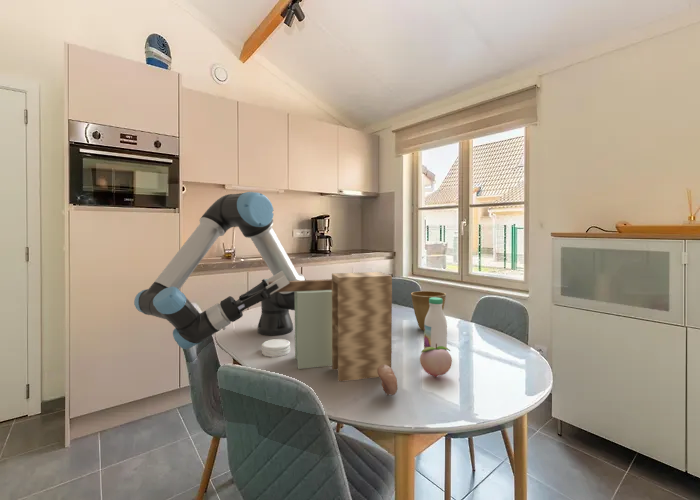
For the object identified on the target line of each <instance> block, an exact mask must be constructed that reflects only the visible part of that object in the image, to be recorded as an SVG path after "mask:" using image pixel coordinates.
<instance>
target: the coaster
mask: <svg viewBox="0 0 700 500" xmlns="http://www.w3.org/2000/svg"><path fill="white" fill-rule="evenodd" d="M289 353H291V342H290V340H288V339H284V338H274V339H268V340H266V341H263V343H262V344H261V354H262V355H263V356H265V357H269V358H270V357H272V358H274V357H276V358H278V357H283V356H285V355H288V354H289Z"/></svg>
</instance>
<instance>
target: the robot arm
mask: <svg viewBox="0 0 700 500" xmlns="http://www.w3.org/2000/svg"><path fill="white" fill-rule="evenodd" d="M273 212H274V207H273V204H272V202H271V200H270V199H269V197H267V196H266V195H265V194H263V193H260V192H257V191H256V192H255V191H247V192H241V193H230V194H225V195H223V196H221V197H219V198H218V199H217V200H215V201H214V202H213V203H212V204H211V205H210V206H209V207H208V208H207V210H205V212H204V213H203V214H202V216H201V217H200V218H199V224H198V225H197V227H196V228H195V230H194V231H193V232H192V233H191V235H190V236H189V237H188V239H187V240H186V241H185V242H184V243H183V245H182V246H181V247H180V248H179V250H178V251H177V252H176V253H175V255H174V256H173V257H172V259H170V261H169V263H168V264H167V265H166V266H165V268H163V270H162V272H161V273H160V274H159V275H158V277H157V278H156V279H155V280H154V282H152V284H151V285H150V287H149V288H147V289H143V290H141V291H139V292H138V293H137V294H136V296H135V297H134V302H133V303H134V307H135V309H136V310H137V311H139V312H141V313H142V314H144V315H148V316H152V317H156V318H159V319H163V320H166V321H168V322H169V323H170V324H171V325H172V326H173V327H174V329H173V330H172V336H173V339H174V341H175V342H176V344H177V345H178V346H179V348H180V349H183V350H189V349H190V348H193V347H195V346H196V345H199V344H200V343H201V342H202V343H203V341H205V340H206V339H208V338H209V337H211V336H213V335H214V334H215V333H218V332H219V331H221V329H222V330H224V331H225V330H226V329H227V328H226V327H228V326H230V325H231V323H234V322H236V321H239V319H241V318H243V313H244V311H245V310H247V309H249V308H251V307H252V306H254V305H257V304H258V303H261V305H260V307H261V309H260V310H261V312H260V313H261V314H260V317H259V320H258V323H257V324H258V325H257V333H258V334H260V335H263V336H264V335H265V336H280V335H281V336H282V335H286V334H289V333H292V332H293V330H294V322H293V320H292V318H291V314H290V310H291V311H294V312H295V293H294V291H289V292H276V291H278V290H279V289H281V288H283V287H284V286H286V285H288V284H289V281H298V280H307V279H306V278H305V276H304V275H303V273H298V271H297V269H296V267H295V266H294V264H293V262H292V260H291V259H290V257H289V255H288V253H287V251H286V249H285V248H284V246H283V244H282V242H281V241H280V238H279V237H278V235H277V233H276V232H275V230H274V228H273V225H274V219H273V218H274V213H273ZM232 228H238V229H239V230H240V232H241V233H242V235H243V236H244V237H245V238H247V239H250V240H251V241H252V243H253V244H254V246H255V247H256V249H257V251H258V253H259V254H260V256H261V258H262V259H263V261H264V262H265V264H266V265H267V266H266V267H268V269H269V271H270V272H271V275H272V276H271V277H269V278H266V279H265V278H263V279H262V280H261V282H259V283H258V284H256V285H255V286H253V287H252V288H251V289H249V290H247V291H246V292H245V293H242V294H241V295H239V296H238V299H237V300H235V298H234V297H233V296H228V297H226V298H224V299H223V300H220V302H219V303H218V302H217V303H216V304H215V303H214V304H213V305H212V306H210V307H208V308H207V309H206V310H204V311H201V312H199V310H198V309H197V308H196V307H195V306H194V305H193V304H192V302H191V301H190V300H189V299H188V298H187V297H186V295H185V293H183V292H182V291H181V288H182V287H183V286H184V284H186V282H187V280H189V277H190V276H191V275H192V274H193V272H194V271H195V269H196V268H197V267H198V266H199V264H200V263H201V261H202V260H203V259H204V257H206V254H207V253H208V252H209V251H210V250H211V248H212V246H213V245H214V244H215V243H216V241H217V240H218V239H219V237H222V236H224V235H225V234H226V233H227V231H228V230H230V229H232ZM270 281H275V282H273V283H271V284H270V285H269V282H270Z"/></svg>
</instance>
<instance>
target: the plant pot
mask: <svg viewBox="0 0 700 500" xmlns="http://www.w3.org/2000/svg"><path fill="white" fill-rule="evenodd" d="M410 296H411V301H412V302H411V303H412V307H413V312H414V315H415V318H416V322H417V324H418V327H419V329H420V331H422V332H424V322H425V317H426V315H427V313H428V311H429V307H430V305H429V298H432V297H438V298H442V299H443V303H442V304H443V305H442V310H443V311H444V307H445V305H446V304H445V303H446V298H447V297H446V296H447V293H445V292H441V291H433V290H431V291H430V290H421V291H420V290H419V291H413V292H411V293H410Z"/></svg>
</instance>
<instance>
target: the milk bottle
mask: <svg viewBox="0 0 700 500" xmlns="http://www.w3.org/2000/svg"><path fill="white" fill-rule="evenodd" d="M442 303H443V299H442V298H438V297H432V298H429V305H430V307H429V311H428V313H427V315H426V317H425V322H424V331H423V349H425V348H427V347H436V344H437V347H438V346H444V347H447V346H448V343H447V342H448V329H447V328H448V324H447V323H448V322H447V317H446V316H445V315H446V314H445V312H444V309H443V310H442V305H443V304H442ZM447 348H448V347H447Z"/></svg>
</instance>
